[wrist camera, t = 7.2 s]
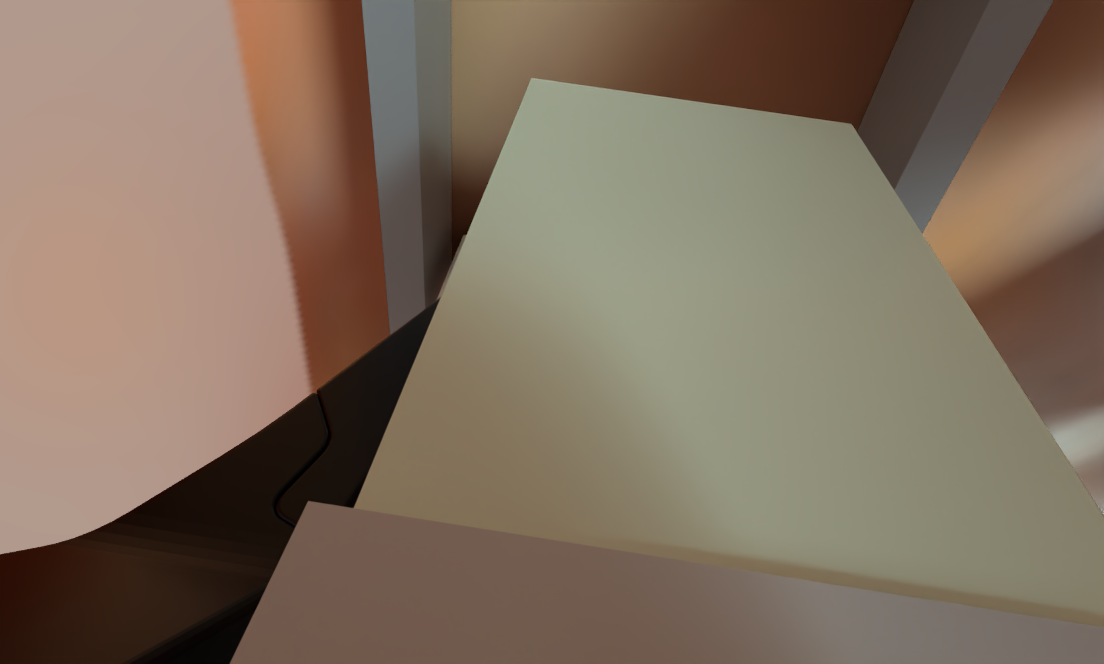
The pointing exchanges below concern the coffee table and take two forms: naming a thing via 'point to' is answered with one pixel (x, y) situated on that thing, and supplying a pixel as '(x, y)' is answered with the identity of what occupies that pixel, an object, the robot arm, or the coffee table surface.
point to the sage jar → (696, 427)
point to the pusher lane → (886, 130)
